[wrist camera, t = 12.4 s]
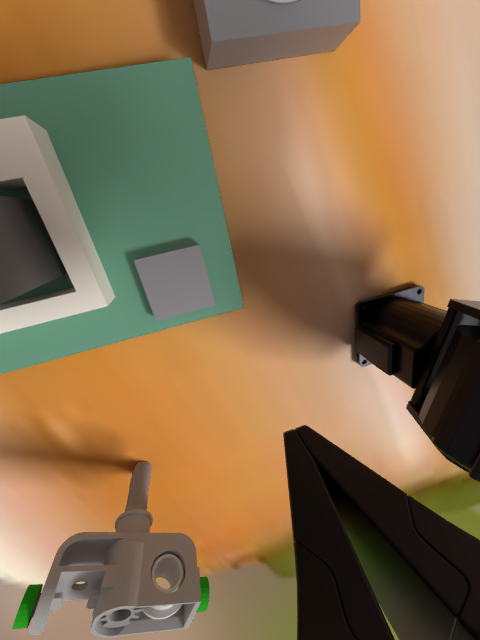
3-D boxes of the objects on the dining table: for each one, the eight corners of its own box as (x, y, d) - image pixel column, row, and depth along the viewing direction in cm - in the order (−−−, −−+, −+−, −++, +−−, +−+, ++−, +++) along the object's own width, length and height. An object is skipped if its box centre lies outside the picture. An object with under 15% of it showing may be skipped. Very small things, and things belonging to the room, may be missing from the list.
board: (189, 72, 15) (192, 30, 11) (239, 301, 20) (251, 316, 17) (-228, 135, 12) (-374, 103, 9) (-43, 377, 18) (-92, 412, 14)
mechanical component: (84, 449, 22) (14, 615, 12) (201, 461, 25) (214, 600, 16) (77, 475, 22) (6, 650, 13) (191, 483, 26) (199, 629, 16)
